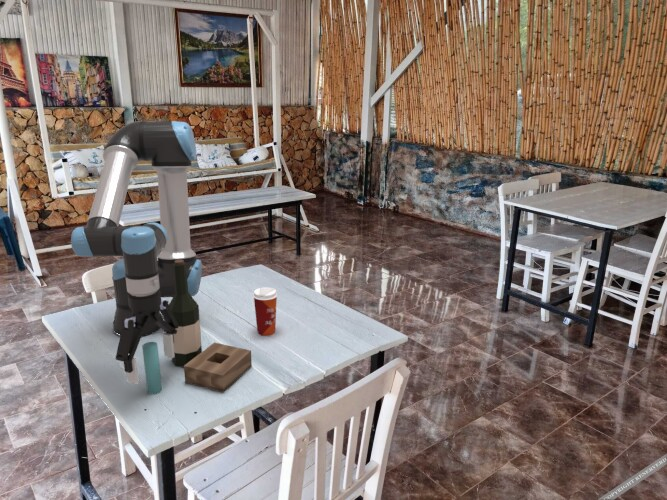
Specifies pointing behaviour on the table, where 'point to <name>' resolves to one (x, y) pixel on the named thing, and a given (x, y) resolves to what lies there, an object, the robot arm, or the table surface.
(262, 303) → the paper cup
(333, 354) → the table surface
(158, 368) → the pin
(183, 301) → the wine bottle
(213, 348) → the bore block
